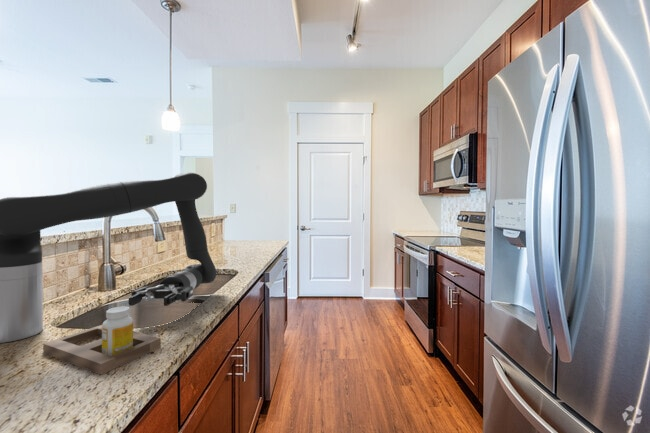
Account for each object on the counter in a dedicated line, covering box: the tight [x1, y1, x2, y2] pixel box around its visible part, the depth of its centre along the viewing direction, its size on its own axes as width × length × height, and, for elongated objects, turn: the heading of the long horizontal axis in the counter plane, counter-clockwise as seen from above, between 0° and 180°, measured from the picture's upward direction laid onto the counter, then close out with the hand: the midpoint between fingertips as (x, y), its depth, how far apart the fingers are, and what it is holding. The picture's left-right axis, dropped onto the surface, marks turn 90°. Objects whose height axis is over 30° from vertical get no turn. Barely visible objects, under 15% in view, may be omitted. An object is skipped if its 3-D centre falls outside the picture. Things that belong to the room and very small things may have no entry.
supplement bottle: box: [101, 305, 134, 356], centre depth 62 cm, size 5×5×10 cm
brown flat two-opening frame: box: [42, 324, 162, 376], centre depth 64 cm, size 20×12×2 cm, turn 67°
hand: (147, 301), depth 73 cm, fingers open, 8 cm apart
